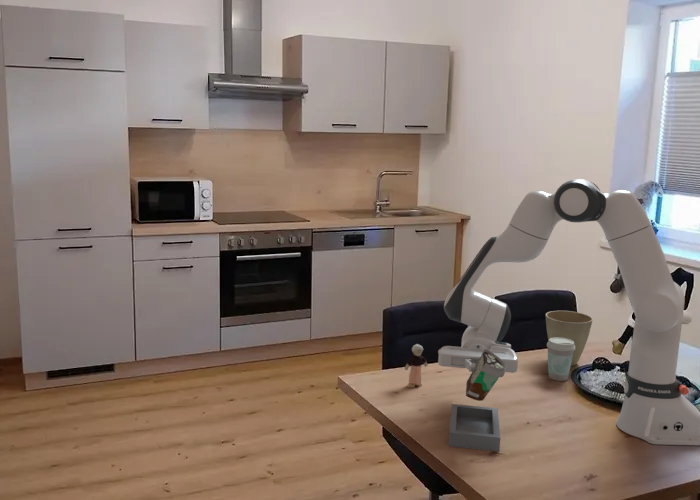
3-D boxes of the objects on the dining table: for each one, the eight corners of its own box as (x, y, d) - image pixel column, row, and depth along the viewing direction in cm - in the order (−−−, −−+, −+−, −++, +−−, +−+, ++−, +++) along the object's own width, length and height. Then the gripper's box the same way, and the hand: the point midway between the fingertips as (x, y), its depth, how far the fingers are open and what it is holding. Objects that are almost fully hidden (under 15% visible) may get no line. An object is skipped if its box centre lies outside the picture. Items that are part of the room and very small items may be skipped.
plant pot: (541, 353, 237) (545, 308, 234) (586, 358, 233) (591, 313, 231) (541, 366, 223) (545, 319, 220) (589, 372, 219) (594, 324, 216)
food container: (488, 410, 164) (508, 376, 161) (465, 398, 164) (485, 363, 162) (488, 391, 176) (507, 359, 173) (466, 380, 176) (485, 347, 174)
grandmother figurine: (411, 389, 199) (413, 348, 197) (402, 385, 202) (404, 344, 200) (429, 384, 204) (431, 343, 202) (420, 380, 207) (422, 340, 205)
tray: (496, 420, 179) (497, 408, 179) (499, 451, 162) (500, 437, 161) (450, 416, 181) (451, 403, 181) (448, 446, 164) (449, 432, 163)
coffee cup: (542, 379, 211) (545, 342, 209) (545, 371, 219) (548, 335, 217) (571, 384, 208) (574, 346, 206) (573, 375, 216) (577, 339, 214)
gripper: (439, 337, 185) (436, 353, 172) (516, 344, 182) (519, 361, 168) (438, 359, 186) (435, 377, 173) (514, 366, 183) (517, 385, 169)
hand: (477, 369), depth 170 cm, fingers closed on food container
